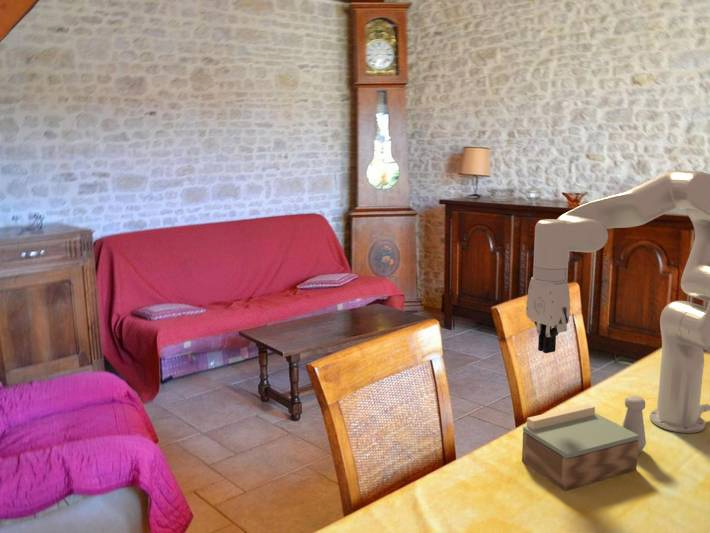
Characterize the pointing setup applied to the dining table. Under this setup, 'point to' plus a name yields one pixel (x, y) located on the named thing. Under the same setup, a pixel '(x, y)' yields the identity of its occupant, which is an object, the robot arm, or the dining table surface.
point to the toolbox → (579, 463)
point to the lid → (577, 431)
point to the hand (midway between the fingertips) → (546, 350)
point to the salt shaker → (635, 419)
